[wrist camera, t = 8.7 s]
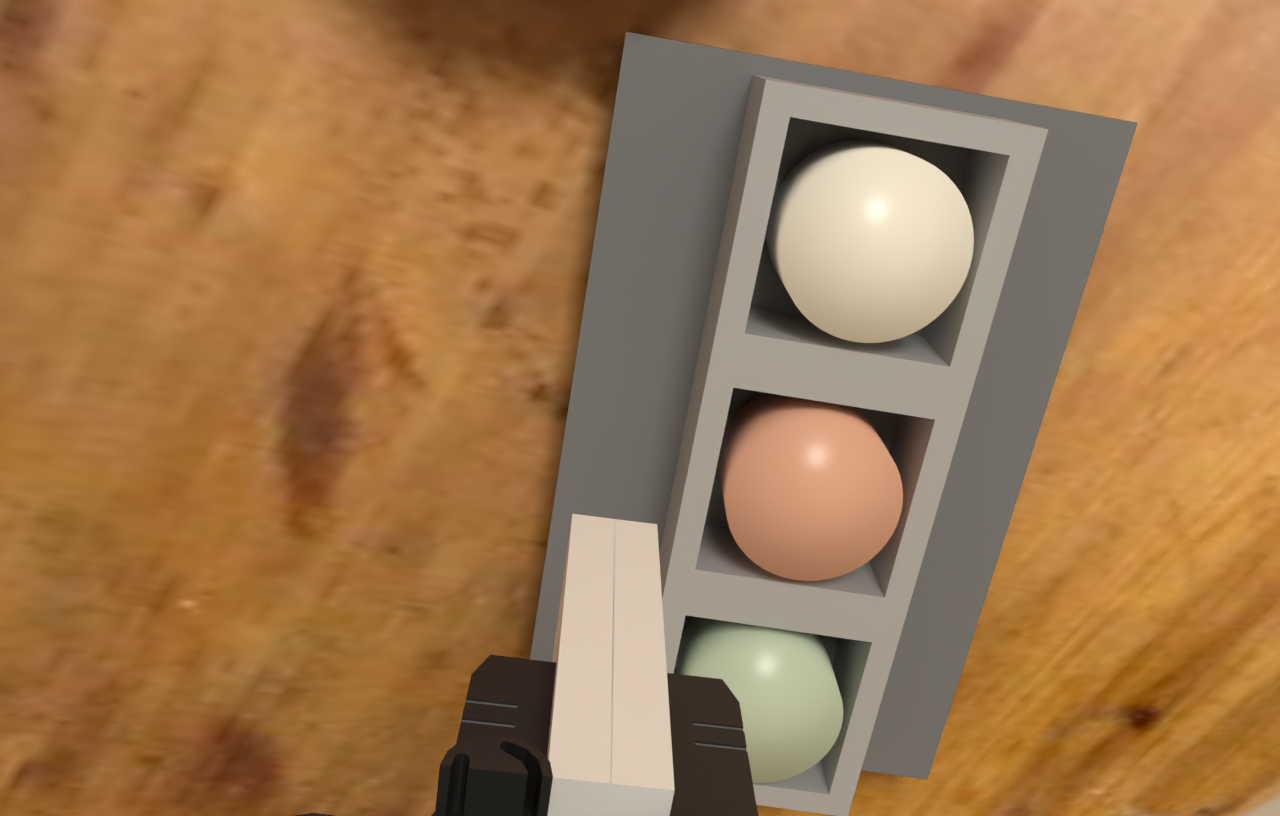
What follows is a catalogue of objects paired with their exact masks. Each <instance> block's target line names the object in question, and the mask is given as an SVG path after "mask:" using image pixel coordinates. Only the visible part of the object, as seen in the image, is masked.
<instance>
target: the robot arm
mask: <svg viewBox="0 0 1280 816" xmlns="http://www.w3.org/2000/svg"><path fill="white" fill-rule="evenodd" d="M746 748H747V745H746V739H745V733H744V732H743V721H742V715H741V709H740V703H739V701H738V700H737V698H736V697H735V696H734V694H733V693H732V692H731V690H730V689H729V687H728V686H727V685H726V683H725V682H724V681H723V679H717V678H708V677H699V676H690V675H682V674H673V673H667V666H666V651H665V636H664V621H663V606H662V590H661V575H660V560H659V545H658V529H657V524H651V523H643V522H635V521H627V520H619V519H611V518H603V517H595V516H587V515H579V514H572V520H571V527H570V534H569V542H568V549H567V556H566V563H565V570H564V578H563V585H562V592H561V599H560V606H559V614H558V621H557V628H556V635H555V642H554V651H553V661H552V662H548V661H539V660H530V659H521V658H513V657H504V656H495V655H490V656H489V657H488V658H487V659H486V660H485V661H484V662H483V663H482V664H481V665H480V666H479V667H478V668H477V669H476V670H475V671H474V673H473V674H472V675H471V680H470V684H469V689H468V693H467V698H466V703H465V707H464V711H463V716H462V722H461V725H460V729H459V734H458V738H457V743H456V745H455V746H454V747H452V748H451V749H450V750H448V751H447V753H446V755H445V757H444V759H443V760H442V762H441V764H440V770H439V780H438V791H437V801H436V811H435V812H434V813H433V815H432V816H758V812H757V806H756V800H755V794H754V788H753V782H752V776H751V770H750V763H749V757H748V752H746ZM296 816H333V815H325V814H318V813H309V814H303V815H296Z"/></svg>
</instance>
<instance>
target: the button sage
mask: <svg viewBox="0 0 1280 816" xmlns="http://www.w3.org/2000/svg"><path fill="white" fill-rule="evenodd" d="M676 665H677V674H682V675H690V676H699V677H708V678H717V679H723V681H724V682H725V683H726V685H727V686H728V687H729V689H730V690H731V692H732V693H733V694H734V696H735V697H736V698H737V700H738V701H739V703H740V709H741V715H742V721H743V732H744V733H745V739H746V745H747V748H746V752H748V757H749V763H750V770H751V776H752V782H753V783H770V782H777V781H781V780H785V779H788V778H791V777H794V776H797V775H799V774H801V773H803V772H805V771H806V770H808V769H809V768H811V767H813V766H814V765H815V764H816V763H818V762H819V761H820V760H821V759H822V758H823V757H824V756H825V755H826V754H827V753H828V752H829V750H830V749H831V748H832V746H833V745H834V743H835V741H836V739H837V737H838V735H839V732H840V730H841V726H842V721H843V703H842V698H841V695H840V691H839V688H838V685H837V681H836V678H835V675H834V671H833V668H832V665H831V662H830V658H829V655H828V652H827V649H826V645H825V642H824V639H823V636H822V635H818V634H811V633H804V632H797V631H790V630H783V629H776V628H769V627H763V626H756V625H749V624H742V623H735V622H728V621H721V620H714V619H708V618H701V617H694V618H693V619H692V620H691V622H690V623H689V624H688V625H687V627H686V629H685V630H684V632H683V634H682V636H681V640H680V645H679V649H678V654H677V659H676Z"/></svg>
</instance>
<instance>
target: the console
mask: <svg viewBox="0 0 1280 816" xmlns="http://www.w3.org/2000/svg"><path fill="white" fill-rule="evenodd" d="M1136 126H1137V123H1136V122H1130V121H1125V120H1119V119H1114V118H1109V117H1103V116H1097V115H1092V114H1086V113H1081V112H1075V111H1069V110H1064V109H1058V108H1053V107H1047V106H1041V105H1036V104H1030V103H1024V102H1019V101H1013V100H1008V99H1002V98H996V97H991V96H985V95H980V94H974V93H968V92H963V91H957V90H951V89H946V88H940V87H935V86H929V85H923V84H918V83H912V82H907V81H901V80H895V79H890V78H884V77H878V76H873V75H867V74H862V73H856V72H850V71H845V70H839V69H834V68H828V67H822V66H817V65H811V64H805V63H800V62H794V61H789V60H783V59H777V58H772V57H766V56H761V55H755V54H749V53H744V52H738V51H732V50H727V49H721V48H716V47H710V46H704V45H699V44H693V43H688V42H682V41H676V40H671V39H665V38H659V37H654V36H648V35H643V34H637V33H631V32H626V35H625V41H624V48H623V55H622V61H621V68H620V74H619V81H618V87H617V94H616V100H615V107H614V113H613V120H612V126H611V133H610V139H609V146H608V152H607V159H606V165H605V172H604V179H603V185H602V192H601V198H600V205H599V211H598V218H597V224H596V231H595V237H594V244H593V250H592V257H591V263H590V270H589V276H588V283H587V290H586V296H585V303H584V309H583V316H582V322H581V329H580V335H579V342H578V348H577V355H576V361H575V368H574V374H573V381H572V387H571V394H570V400H569V407H568V414H567V420H566V427H565V433H564V440H563V446H562V453H561V459H560V466H559V472H558V479H557V485H556V492H555V498H554V505H553V511H552V518H551V525H550V531H549V538H548V544H547V551H546V557H545V564H544V570H543V577H542V583H541V590H540V596H539V603H538V609H537V616H536V622H535V629H534V635H533V642H532V649H531V655H530V660H539V661H548V662H552V661H553V651H554V642H555V635H556V628H557V621H558V614H559V606H560V599H561V592H562V585H563V578H564V570H565V563H566V556H567V549H568V542H569V534H570V527H571V520H572V514H579V515H587V516H595V517H603V518H611V519H619V520H627V521H635V522H643V523H651V524H657V529H658V545H659V560H660V575H661V590H662V606H663V621H664V636H665V651H666V666H667V673H673V674H677V665H676V659H677V654H678V649H679V645H680V640H681V636H682V634H683V632H684V630H685V629H686V627H687V625H688V624H689V623H690V622H691V620H692V619H693V618H694V617H701V618H708V619H714V620H721V621H728V622H735V623H742V624H749V625H756V626H763V627H769V628H776V629H783V630H790V631H797V632H804V633H811V634H818V635H822V636H823V639H824V642H825V645H826V649H827V652H828V655H829V658H830V662H831V665H832V668H833V671H834V675H835V678H836V681H837V685H838V688H839V691H840V695H841V698H842V703H843V721H842V726H841V730H840V732H839V735H838V737H837V739H836V741H835V743H834V745H833V746H832V748H831V749H830V750H829V752H828V753H827V754H826V755H825V756H824V757H823V758H822V759H821V760H820V761H819V762H818V763H816V764H815V765H814V766H813V767H811V768H809V769H808V770H806V771H805V772H803V773H801V774H799V775H797V776H794V777H791V778H788V779H785V780H781V781H777V782H770V783H753V788H754V794H755V800H756V805H762V806H769V807H777V808H784V809H791V810H799V811H806V812H814V813H821V814H828V815H836V816H848V813H849V809H850V806H851V803H852V799H853V796H854V792H855V789H856V786H857V782H858V779H859V775H860V772H861V771H868V772H875V773H883V774H890V775H897V776H904V777H912V778H919V779H926V780H927V778H928V775H929V772H930V769H931V766H932V763H933V760H934V757H935V753H936V750H937V747H938V744H939V741H940V738H941V735H942V732H943V728H944V725H945V722H946V719H947V716H948V713H949V710H950V707H951V703H952V700H953V697H954V694H955V691H956V688H957V685H958V682H959V678H960V675H961V672H962V669H963V666H964V663H965V660H966V657H967V654H968V650H969V647H970V644H971V641H972V638H973V635H974V632H975V629H976V625H977V622H978V619H979V616H980V613H981V610H982V607H983V604H984V600H985V597H986V594H987V591H988V588H989V585H990V582H991V579H992V575H993V572H994V569H995V566H996V563H997V560H998V557H999V554H1000V550H1001V547H1002V544H1003V541H1004V538H1005V535H1006V532H1007V529H1008V526H1009V522H1010V519H1011V516H1012V513H1013V510H1014V507H1015V504H1016V501H1017V497H1018V494H1019V491H1020V488H1021V485H1022V482H1023V479H1024V476H1025V472H1026V469H1027V466H1028V463H1029V460H1030V457H1031V454H1032V451H1033V447H1034V444H1035V441H1036V438H1037V435H1038V432H1039V429H1040V426H1041V422H1042V419H1043V416H1044V413H1045V410H1046V407H1047V404H1048V401H1049V397H1050V394H1051V391H1052V388H1053V385H1054V382H1055V379H1056V376H1057V373H1058V369H1059V366H1060V363H1061V360H1062V357H1063V354H1064V351H1065V348H1066V344H1067V341H1068V338H1069V335H1070V332H1071V329H1072V326H1073V323H1074V319H1075V316H1076V313H1077V310H1078V307H1079V304H1080V301H1081V298H1082V294H1083V291H1084V288H1085V285H1086V282H1087V279H1088V276H1089V273H1090V269H1091V266H1092V263H1093V260H1094V257H1095V254H1096V251H1097V248H1098V244H1099V241H1100V238H1101V235H1102V232H1103V229H1104V226H1105V223H1106V220H1107V216H1108V213H1109V210H1110V207H1111V204H1112V201H1113V198H1114V195H1115V191H1116V188H1117V185H1118V182H1119V179H1120V176H1121V173H1122V170H1123V166H1124V163H1125V160H1126V157H1127V154H1128V151H1129V148H1130V145H1131V141H1132V138H1133V135H1134V132H1135V129H1136ZM851 139H866V140H875V141H879V142H883V143H886V144H889V145H891V146H894V147H896V148H899V149H901V150H903V151H905V152H907V153H910V154H912V155H914V156H916V157H919V158H921V159H923V160H925V161H927V162H929V163H930V164H932V165H934V166H936V167H937V168H938V169H939V170H941V171H942V172H943V173H944V174H946V175H947V176H948V177H949V178H950V180H951V181H952V182H953V183H954V184H955V185H956V187H957V188H958V190H959V191H960V192H961V194H962V196H963V198H964V200H965V202H966V204H967V206H968V209H969V212H970V215H971V219H972V225H973V234H974V246H973V255H972V260H971V265H970V268H969V271H968V274H967V277H966V279H965V281H964V283H963V285H962V287H961V289H960V291H959V292H958V294H957V295H956V297H955V298H954V300H953V301H952V302H951V304H950V305H949V306H948V307H947V308H946V309H945V311H943V312H942V313H941V314H940V315H939V316H938V317H937V318H936V319H935V320H933V321H932V322H931V323H929V324H928V325H926V326H925V327H923V328H922V329H920V330H918V331H916V332H914V333H912V334H910V335H907V336H905V337H902V338H899V339H895V340H892V341H886V342H880V343H860V342H852V341H848V340H844V339H841V338H838V337H835V336H833V335H830V334H828V333H827V332H825V331H823V330H821V329H819V328H818V327H817V326H815V325H814V324H813V323H811V322H810V321H809V320H808V319H807V318H806V317H805V316H804V315H803V314H802V313H801V312H800V310H799V309H798V308H797V306H796V305H795V304H794V302H793V300H792V298H791V297H790V295H789V293H788V292H787V290H786V288H785V286H784V285H783V283H782V281H781V279H780V278H779V276H778V274H777V272H776V271H775V269H774V266H773V264H772V262H771V259H770V256H769V252H768V248H767V239H766V229H767V224H768V220H769V215H770V210H771V205H772V200H773V197H774V195H775V192H776V191H777V189H778V187H779V185H780V184H781V182H782V181H783V179H784V178H785V177H786V175H787V174H788V173H789V172H790V170H791V169H792V168H793V167H794V166H795V165H796V164H797V163H799V162H800V161H801V160H802V159H804V158H805V157H806V156H808V155H809V154H811V153H812V152H814V151H816V150H818V149H820V148H822V147H824V146H826V145H829V144H832V143H836V142H839V141H845V140H851ZM764 392H765V393H771V394H777V395H783V396H790V397H796V398H802V399H809V400H815V401H821V402H827V403H834V404H840V405H846V406H853V407H859V408H861V409H862V410H863V411H864V413H865V414H866V415H867V417H868V418H869V420H870V422H871V423H872V425H873V427H874V428H875V430H876V432H877V433H878V435H879V437H880V438H881V440H882V442H883V443H884V445H885V447H886V448H887V450H888V452H889V453H890V455H891V457H892V459H893V460H894V462H895V464H896V466H897V468H898V471H899V474H900V477H901V481H902V488H903V505H902V510H901V515H900V518H899V521H898V524H897V527H896V529H895V530H894V532H893V534H892V536H891V538H890V539H889V540H888V542H887V543H886V545H885V546H884V547H883V548H882V549H881V550H880V552H879V553H878V554H876V555H875V556H874V557H873V558H872V559H871V560H870V561H868V562H867V563H865V564H864V565H862V566H861V567H859V568H857V569H855V570H853V571H852V572H849V573H847V574H844V575H842V576H839V577H835V578H831V579H826V580H819V581H801V580H793V579H788V578H784V577H781V576H778V575H775V574H773V573H771V572H768V571H766V570H764V569H763V568H761V567H760V566H758V565H757V564H755V563H754V562H753V561H752V560H751V559H749V558H748V557H747V556H746V555H745V553H744V552H743V551H742V550H741V549H740V547H739V546H738V544H737V543H736V541H735V539H734V537H733V535H732V533H731V531H730V528H729V524H728V521H727V516H726V510H725V505H724V499H723V494H722V488H721V483H720V477H719V471H718V458H719V454H720V449H721V444H722V439H723V434H724V432H725V430H726V428H727V426H728V425H729V423H730V421H731V420H732V418H733V417H734V416H735V415H736V413H737V412H738V411H739V410H740V409H741V408H742V407H743V406H744V405H745V404H747V403H748V402H749V401H751V400H752V399H753V398H755V397H757V396H759V395H760V394H762V393H764Z"/></svg>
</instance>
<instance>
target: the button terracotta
mask: <svg viewBox="0 0 1280 816" xmlns="http://www.w3.org/2000/svg"><path fill="white" fill-rule="evenodd" d="M718 471H719V477H720V483H721V488H722V494H723V499H724V505H725V510H726V516H727V521H728V524H729V528H730V531H731V533H732V535H733V537H734V539H735V541H736V543H737V544H738V546H739V547H740V549H741V550H742V551H743V552H744V553H745V555H746V556H747V557H748V558H749V559H751V560H752V561H753V562H754V563H755V564H757V565H758V566H760V567H761V568H763V569H764V570H766V571H768V572H771V573H773V574H775V575H778V576H781V577H784V578H788V579H793V580H801V581H819V580H826V579H831V578H835V577H839V576H842V575H844V574H847V573H849V572H852V571H853V570H855V569H857V568H859V567H861V566H862V565H864V564H865V563H867V562H868V561H870V560H871V559H872V558H873V557H874V556H875V555H876V554H878V553H879V552H880V550H881V549H882V548H883V547H884V546H885V545H886V543H887V542H888V540H889V539H890V538H891V536H892V534H893V532H894V530H895V529H896V527H897V524H898V521H899V518H900V515H901V510H902V505H903V488H902V481H901V477H900V474H899V471H898V468H897V466H896V464H895V462H894V460H893V459H892V457H891V455H890V453H889V452H888V450H887V448H886V447H885V445H884V443H883V442H882V440H881V438H880V437H879V435H878V433H877V432H876V430H875V428H874V427H873V425H872V423H871V422H870V420H869V418H868V417H867V415H866V414H865V413H864V411H863V410H862V409H861V408H859V407H853V406H846V405H840V404H834V403H827V402H821V401H815V400H809V399H802V398H796V397H790V396H783V395H777V394H771V393H765V392H764V393H762V394H760V395H759V396H757V397H755V398H753V399H752V400H751V401H749V402H748V403H747V404H745V405H744V406H743V407H742V408H741V409H740V410H739V411H738V412H737V413H736V415H735V416H734V417H733V418H732V420H731V421H730V423H729V425H728V426H727V428H726V430H725V432H724V434H723V439H722V444H721V449H720V454H719V458H718Z"/></svg>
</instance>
